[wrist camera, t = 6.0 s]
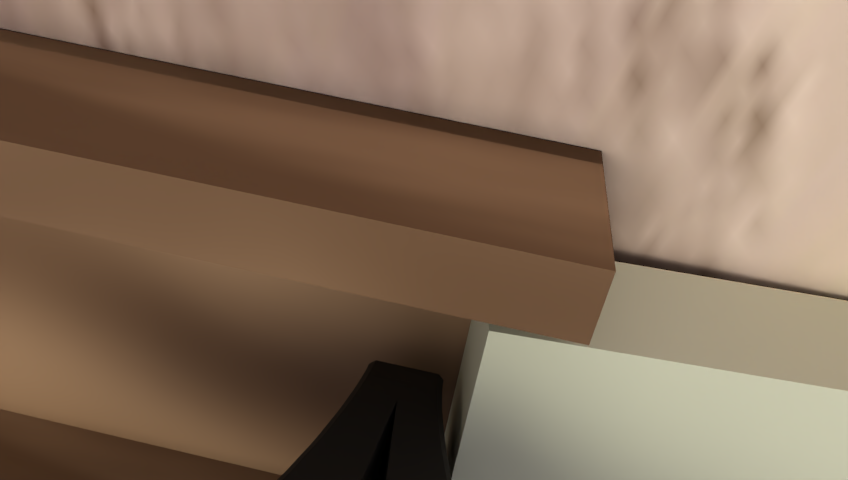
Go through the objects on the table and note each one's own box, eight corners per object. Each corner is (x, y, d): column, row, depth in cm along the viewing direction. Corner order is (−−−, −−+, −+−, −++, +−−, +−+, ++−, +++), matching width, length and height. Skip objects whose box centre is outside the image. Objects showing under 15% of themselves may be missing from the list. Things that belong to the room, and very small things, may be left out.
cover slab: (781, 558, 16) (823, 670, 14) (429, 500, 16) (419, 604, 14) (951, 318, 12) (1042, 424, 10) (489, 240, 12) (488, 330, 10)
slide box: (480, 536, 17) (463, 688, 14) (-210, 373, 18) (-357, 484, 15) (601, 151, 12) (615, 271, 9) (-408, -55, 13) (-703, -10, 10)
